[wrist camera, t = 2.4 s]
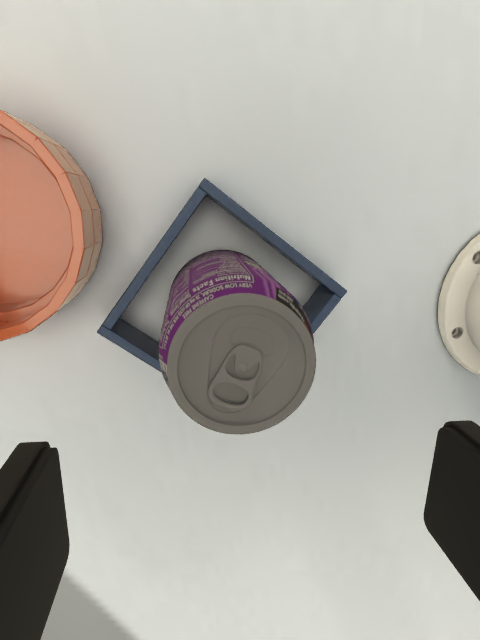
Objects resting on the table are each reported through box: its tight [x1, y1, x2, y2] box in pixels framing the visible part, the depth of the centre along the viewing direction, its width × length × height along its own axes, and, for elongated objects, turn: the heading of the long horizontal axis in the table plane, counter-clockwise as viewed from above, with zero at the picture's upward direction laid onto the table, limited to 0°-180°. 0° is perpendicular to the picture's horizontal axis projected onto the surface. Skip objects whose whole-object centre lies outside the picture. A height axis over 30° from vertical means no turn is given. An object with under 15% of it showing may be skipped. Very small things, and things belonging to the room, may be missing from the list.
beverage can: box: [159, 250, 316, 434], centre depth 22 cm, size 7×7×12 cm
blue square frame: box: [97, 178, 347, 372], centre depth 26 cm, size 11×11×3 cm
